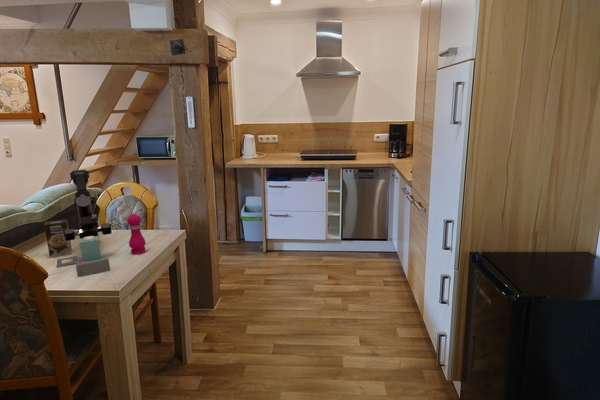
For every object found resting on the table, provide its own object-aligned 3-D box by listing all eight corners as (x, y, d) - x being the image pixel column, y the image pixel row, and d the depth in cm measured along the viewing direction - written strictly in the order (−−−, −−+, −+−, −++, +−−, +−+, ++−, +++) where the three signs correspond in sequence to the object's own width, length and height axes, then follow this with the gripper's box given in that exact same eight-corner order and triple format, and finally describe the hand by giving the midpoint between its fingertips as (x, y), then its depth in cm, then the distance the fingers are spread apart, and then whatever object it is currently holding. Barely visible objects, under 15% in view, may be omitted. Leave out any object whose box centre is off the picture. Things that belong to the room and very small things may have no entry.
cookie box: (49, 258, 181) (43, 224, 178) (50, 254, 187) (44, 221, 183) (72, 254, 185) (66, 221, 182) (72, 250, 191) (67, 218, 187)
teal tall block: (83, 264, 171) (79, 237, 168) (101, 261, 175) (97, 234, 172) (84, 269, 166) (79, 240, 163) (102, 265, 170) (98, 237, 167)
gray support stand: (77, 268, 169) (75, 257, 167) (108, 262, 174) (106, 251, 173) (77, 277, 159) (75, 265, 158) (110, 270, 165) (108, 259, 164)
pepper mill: (133, 250, 189) (127, 209, 184) (148, 249, 189) (143, 209, 185) (128, 255, 182) (122, 214, 177) (144, 254, 182) (138, 213, 178)
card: (57, 260, 178) (57, 259, 178) (77, 256, 182) (77, 255, 182) (56, 267, 170) (56, 266, 170) (77, 263, 174) (77, 262, 174)
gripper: (60, 212, 169) (63, 243, 162) (107, 206, 178) (113, 235, 171) (63, 225, 177) (67, 255, 171) (108, 218, 186) (114, 247, 179)
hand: (90, 248), depth 173 cm, fingers closed
